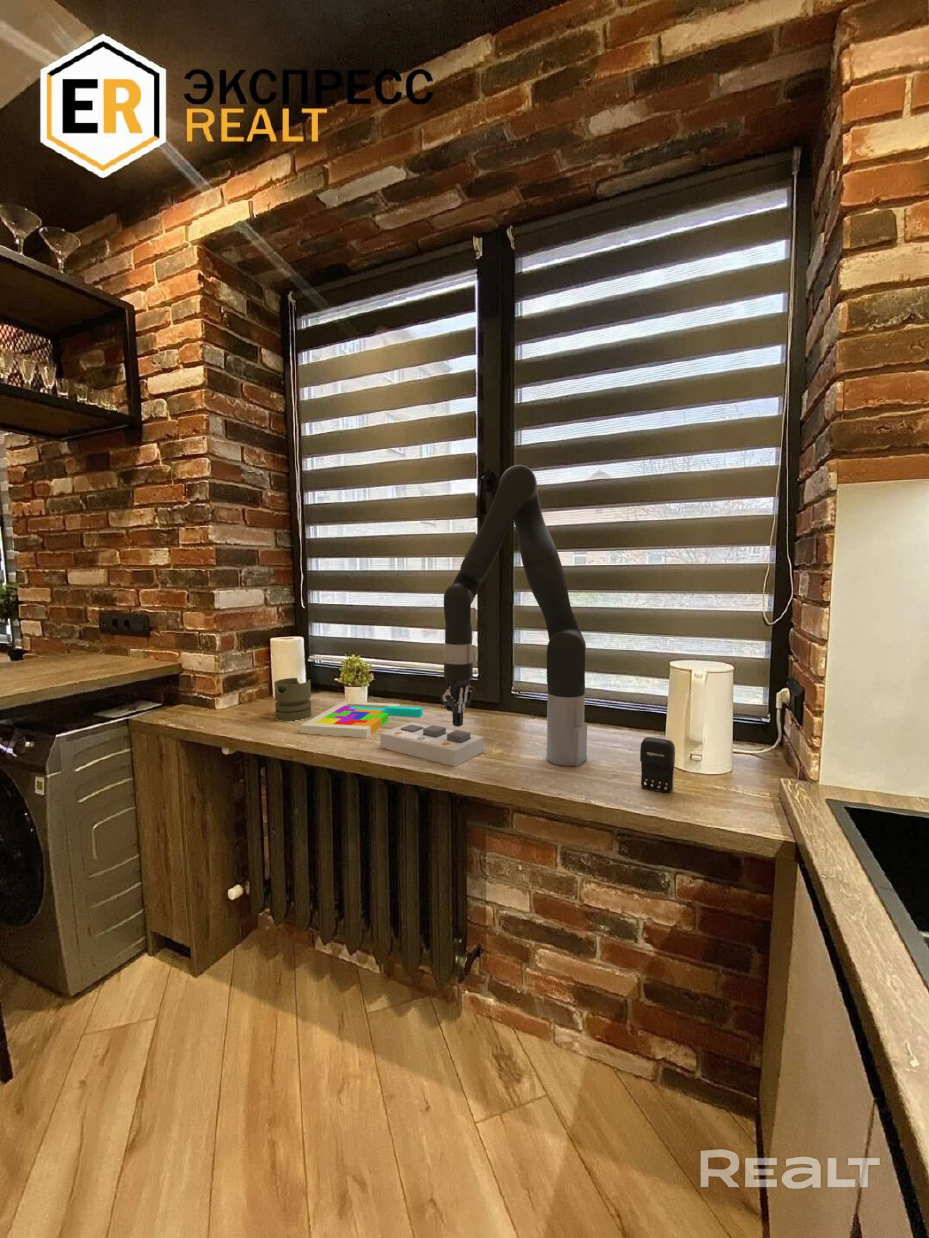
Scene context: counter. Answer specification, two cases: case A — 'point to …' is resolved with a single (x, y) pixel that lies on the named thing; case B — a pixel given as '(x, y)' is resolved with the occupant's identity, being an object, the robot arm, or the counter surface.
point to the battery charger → (657, 764)
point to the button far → (411, 728)
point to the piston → (292, 699)
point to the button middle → (434, 731)
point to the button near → (458, 736)
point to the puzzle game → (356, 718)
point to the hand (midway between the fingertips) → (457, 725)
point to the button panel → (431, 745)
